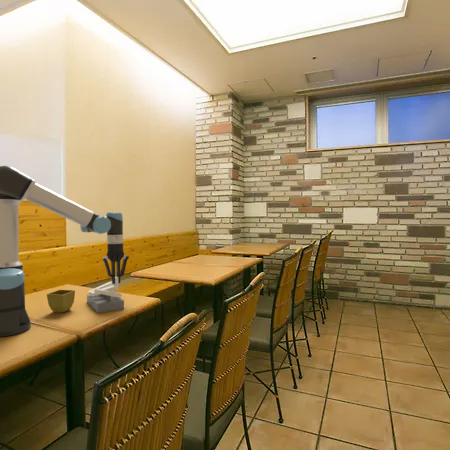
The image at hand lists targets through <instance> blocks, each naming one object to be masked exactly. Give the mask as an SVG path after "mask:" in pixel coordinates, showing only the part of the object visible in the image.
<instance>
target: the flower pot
mask: <svg viewBox="0 0 450 450" xmlns="http://www.w3.org/2000/svg"><path fill="white" fill-rule="evenodd" d="M75 294H76V290H74V289H73V290H72V289H58V290H55V291H52V292H49V293H46V297H47V298H46V300H47V303H48V306H49V308H50V310H51V311H52V312H53V313H60V314H61V313H62V314H63V313H65V312H67V311H69V310H71V309H72V307H73V304H74V302H75V296H76V295H75Z"/></svg>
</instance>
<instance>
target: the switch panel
mask: <svg viewBox="0 0 450 450" xmlns="http://www.w3.org/2000/svg"><path fill="white" fill-rule="evenodd" d="M86 303H87V304H88V305H89V307H91V309H93V310H94V312H96V313H97V314H100V313H101V314H102V313H106V312H113V311H114V312H115V311H119V310H123V309H124V310H125V300H124V299H122V297H115V296H109V295H104V294H100V295H97V296H92V295H90V294H89V293H88V294H86Z"/></svg>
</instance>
